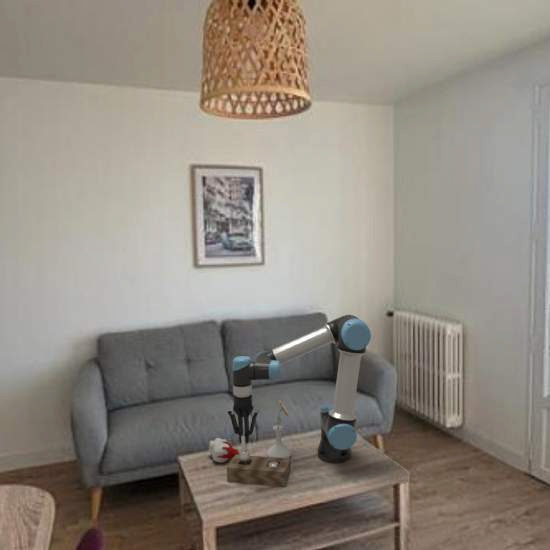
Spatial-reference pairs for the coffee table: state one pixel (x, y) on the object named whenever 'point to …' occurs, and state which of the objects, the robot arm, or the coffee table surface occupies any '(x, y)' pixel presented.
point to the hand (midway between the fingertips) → (244, 450)
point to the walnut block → (259, 471)
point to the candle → (222, 450)
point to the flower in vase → (279, 440)
